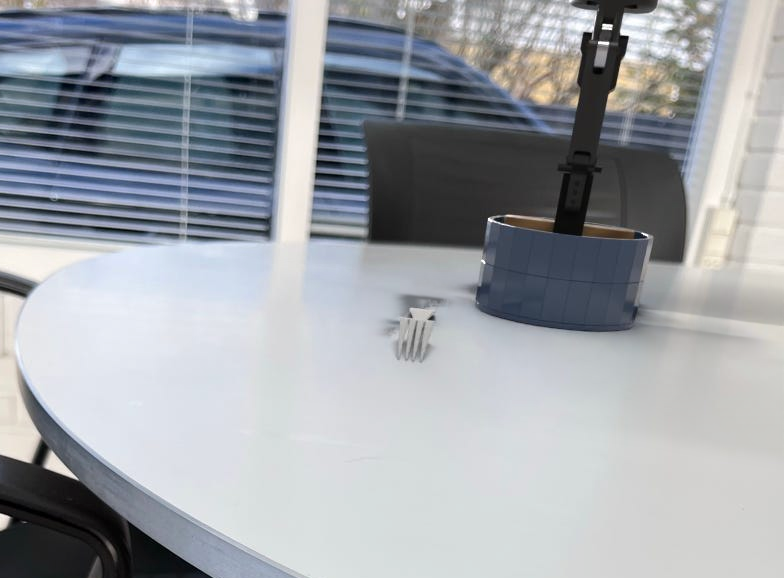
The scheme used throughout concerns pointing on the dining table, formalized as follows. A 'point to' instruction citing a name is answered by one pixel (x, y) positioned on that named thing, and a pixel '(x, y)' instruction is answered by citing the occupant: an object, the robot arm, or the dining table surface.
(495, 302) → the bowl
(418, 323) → the fork
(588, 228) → the stick
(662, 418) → the dining table surface
